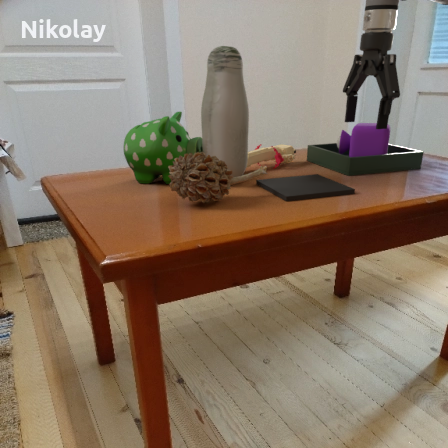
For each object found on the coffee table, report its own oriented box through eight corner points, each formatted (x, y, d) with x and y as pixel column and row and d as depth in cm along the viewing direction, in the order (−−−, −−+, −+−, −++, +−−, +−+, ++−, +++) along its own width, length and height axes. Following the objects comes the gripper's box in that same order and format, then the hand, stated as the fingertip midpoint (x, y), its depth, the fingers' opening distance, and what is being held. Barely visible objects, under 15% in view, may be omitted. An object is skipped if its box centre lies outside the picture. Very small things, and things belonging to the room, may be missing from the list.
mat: (354, 193, 93) (355, 189, 92) (286, 201, 88) (286, 196, 88) (317, 178, 106) (317, 173, 106) (255, 184, 102) (256, 179, 101)
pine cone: (181, 214, 82) (178, 159, 77) (161, 202, 89) (157, 151, 84) (277, 197, 91) (279, 147, 87) (252, 188, 99) (253, 141, 94)
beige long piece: (239, 183, 108) (306, 161, 121) (237, 146, 103) (306, 127, 116) (213, 177, 114) (279, 156, 128) (210, 142, 110) (279, 124, 123)
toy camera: (334, 157, 125) (337, 119, 120) (384, 158, 123) (389, 119, 118) (336, 165, 116) (340, 124, 111) (390, 165, 114) (397, 124, 109)
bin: (420, 168, 114) (423, 151, 112) (348, 175, 108) (350, 157, 106) (370, 155, 132) (372, 140, 130) (306, 160, 126) (307, 145, 124)
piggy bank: (194, 188, 99) (191, 116, 92) (118, 186, 102) (109, 117, 95) (207, 174, 112) (204, 110, 105) (138, 173, 114) (132, 111, 107)
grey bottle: (233, 189, 97) (232, 44, 84) (196, 184, 102) (189, 46, 89) (255, 180, 105) (257, 45, 92) (219, 176, 110) (216, 47, 97)
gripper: (335, 34, 115) (327, 120, 125) (399, 28, 94) (382, 132, 104) (360, 34, 117) (349, 119, 127) (428, 29, 96) (408, 131, 106)
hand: (364, 126), depth 116 cm, fingers open, 13 cm apart
